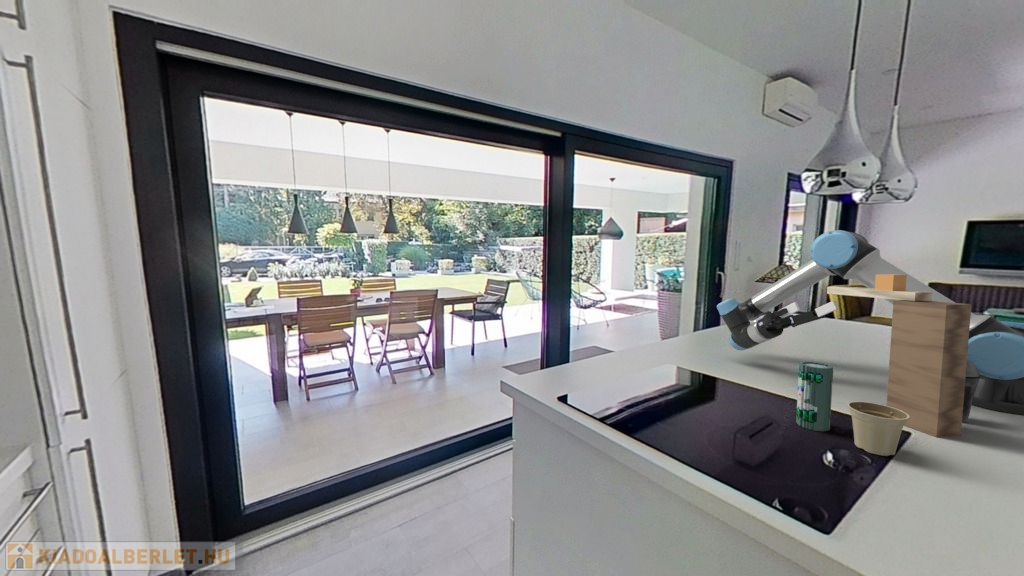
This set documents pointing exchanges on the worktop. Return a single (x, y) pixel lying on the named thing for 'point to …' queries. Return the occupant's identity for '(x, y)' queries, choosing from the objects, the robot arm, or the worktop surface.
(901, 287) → the cube
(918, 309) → the stand
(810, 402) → the can
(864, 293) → the slat
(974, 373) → the beverage cup
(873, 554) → the worktop surface
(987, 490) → the worktop surface
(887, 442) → the flower pot
